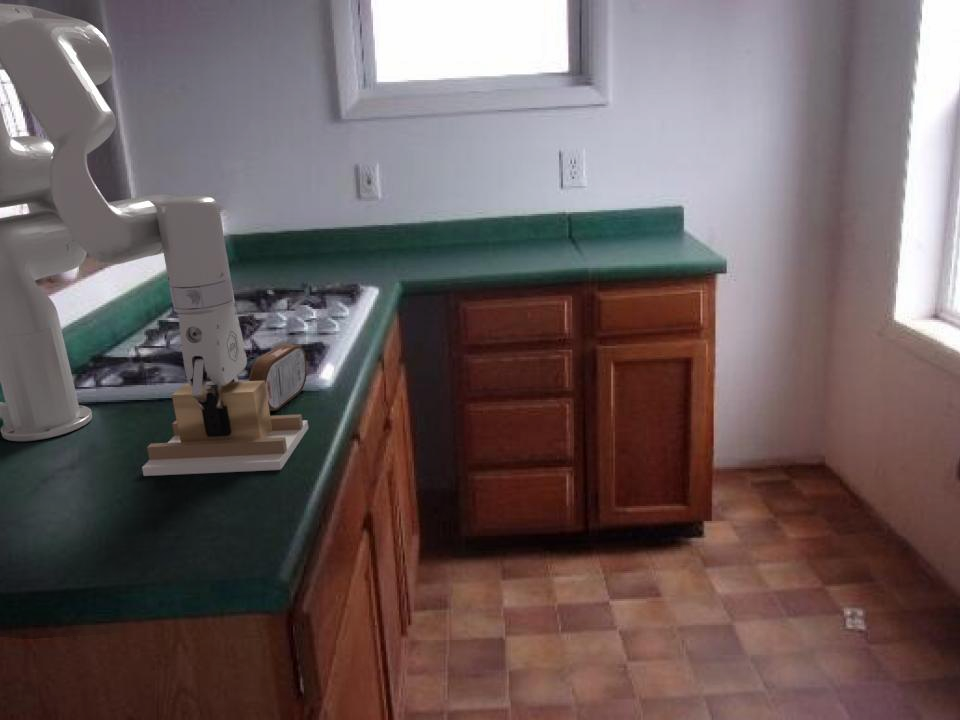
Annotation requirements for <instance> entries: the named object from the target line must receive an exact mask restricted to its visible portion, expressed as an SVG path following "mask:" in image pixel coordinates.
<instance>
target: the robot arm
mask: <svg viewBox="0 0 960 720" xmlns="http://www.w3.org/2000/svg"><path fill="white" fill-rule="evenodd" d="M113 69H114V54H113V51H112V48H111V46H110V44H109V42H108V40H107V38H106V37H105V35H104V34H103V33H102V32H101V31H100V30H99V29H98V28H97V27H96V26H94V24H91V23H89V22H88V21H85V20H82V19H79V18H75V17H72V16H68V15H64V14H60V13H56V12H53V11H49V10H45V9H42V8H38V7H35V6H29V5H21V4H12V3H11V4H10V3H0V71H4V72H5V73H6V74H7V76H8V78H9V79H10V80H11V81H10V82H11V83H12V84H13V85H14V87H15V88H16V91H17V92H18V94H19V95H20V96H21V99H22V100H23V101H24V103H25V104H26V106H27V107H28V109H29V111H30V112H31V113H32V115H33V116H34V118H35V120H36V121H37V123H38V124H39V126H40V128H41V129H42V131H43V132H44V134H45V135H46V137H47V138H48V139H46V138H43V137H41V136H36V135H22V136H21V135H20V136H10V134H9V132H8V130H7V125H6V123H5V120H4V115H3V111H2V108H1V107H0V209H2V208H3V209H4V208H9V207H14V206H15V207H16V206H20V205H27V208H28V210H29V211H28V212H29V213H25V214H24V213H23V214H15V215H10V216H4V217H0V385H1V388H2V393H3V398H4V401H5V402H3V401H0V419H1V420H3V424H2V425H1V427H0V433H1V437H2V438H3V439H5V440H7V441H11V442H12V441H13V442H33V441H40V440H45V439H51V438H54V437H59V436H63V435H65V434H68V433H72V432H73V431H75V430H78V429H80V428H82V427H83V426H86V425H87V424H88V423H89V422H91V420H92V419H93V412H92V409H91V408H90V407H88V406H85V405H79V400H78V396H77V392H76V387H75V383H74V378H73V373H72V370H71V366H70V361H69V358H68V353H67V352H68V351H67V347H66V343H65V339H64V334H63V331H62V326H61V321H60V317H59V314H58V310H57V307H56V305H55V303H54V302H53V301H52V299H51V298H50V297H49V295H47V294H46V292H44V291H43V289H42V288H41V287H40V286H39V285H38V284H37V283H36V281H38V280H41V279H44V278H47V277H51V276H56V275H58V274H62V273H67V272H69V271H72V270H74V269H77V268H79V267H80V266H81V265H82V264H83V263H84V261H85V260H86V258H87V254H88V255H89V257H91V259H94V260H95V261H96V262H99V263H102V264H106V265H110V266H113V265H120V264H121V265H122V264H125V263H128V262H132V261H136V260H140V259H144V258H148V257H154V256H158V255H161V254H163V258H164V262H165V269H166V274H167V279H168V285H169V291H170V295H171V300H172V301H171V302H172V305H173V311H174V312H175V313H176V314H177V313H178V325H179V335H180V336H179V337H180V345H181V352H182V359H183V365H184V366H183V367H184V370H185V376H186V380H187V384H189V385H190V386H191V387H193V388H192V396H193V398H195V399H196V400H198V402H199V405H200V409H201V410H202V414H203V420H204V425H205V431H206V435H207V436H208V437H217V436H229V435H230V434H231V427H230V422H229V416H228V410H227V406H223V405H224V403H223V391H222V386H226V385H228V384H229V383H230V382H240V381H239V378H238V376H239V374H241V372H243V370H244V369H245V368H246V366H247V364H248V358H247V354H246V348H245V344H244V343H245V342H244V338H243V334H242V330H241V325H240V321H239V317H238V313H237V310H236V306H235V303H236V301H235V296H234V290H233V289H234V288H233V283H232V277H231V272H230V265H229V259H228V258H229V257H228V252H227V247H226V246H227V245H226V242H225V235H224V229H223V224H222V223H223V221H222V218H221V217H222V216H221V210H220V206H219V203H218V202H217V201H216V200H215V199H214V198H213V197H211V196H206V195H193V196H182V197H179V196H173V195H170V194H169V195H168V194H150V195H144V196H141V197H139V196H136V197H131V198H126V199H122V200H115V201H107V200H106V198H105V197H104V196H103V194H102V193H101V191H100V190H99V188H98V187H97V185H96V183H95V181H94V179H93V178H92V175H91V173H90V171H89V166H88V154H90V153H91V152H93V151H94V150H96V149H97V148H98V147H100V146H101V145H102V144H104V143H105V141H106V140H108V139H109V137H111V135H112V133H114V131H115V129H116V126H117V124H116V123H117V120H116V115H115V114H114V112H113V110H112V109H111V108H110V106H109V104H108V103H107V102H106V100H105V98H104V97H103V95H102V93H101V92H100V90H99V88H98V87H97V86H98V85H102V84H104V83H105V82H106V81H107V80H108V79H109V78H110V77H111V75H112V73H113ZM207 381H211V383H214V384H206V383H207ZM209 389H215V396H216V397H215V396H214V395H213V393H209V392H208V391H207V390H209Z"/></svg>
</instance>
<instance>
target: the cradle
mask: <svg viewBox="0 0 960 720" xmlns="http://www.w3.org/2000/svg"><path fill="white" fill-rule="evenodd" d="M270 417H271V424H272V430H271V431H270V432H269V434H268V435H267V436H266V437H265V438H257V439H236V440H215V441H195V442H181V441H180V435H179V430H178V425H177V420H175V421H173V422H172V423H171V425H172V429H173V434H174V435H173V436H172V437H171V438H170V440H169V441H168V442H159V443H158V442H155V443H149V444H148V445H147V447H146V449H147V453H148V454H147V455H148V458H149V459H148V461H147V462H146V463H144V465H143V466H142V467H141V469H142V474H143V476H144V477H148V476H152V477H153V476H169V475H170V476H171V475H172V476H173V475H175V476H176V475H192V474H194V475H195V474H196V475H198V474H215V473H216V474H218V473H236V472H239V473H240V472H257V471H258V472H259V471H261V472H262V471H281V470H282V468H283V467H284V466H285V464H286V463H287V461H288V460H289V458H290V457H291V455H292V454H293V452H294V450H295V449H296V448H297V446H298V445H299V444H300V442H301V440H302V439H303V437H304V436H305V434H306V433H307V432H308V429H309V423H308V420H305V419H304V420H303V416H302V414H300V413H299V414H281V415H280V414H279V415H270Z"/></svg>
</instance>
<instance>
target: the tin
mask: <svg viewBox="0 0 960 720" xmlns="http://www.w3.org/2000/svg"><path fill="white" fill-rule="evenodd" d="M252 365H253V366H252V368H251V370H250V374H249V377H248V381H265V385H266V392H267V398H268V405H269V411H270V412H276V411H277V410H278V411H279V409H280V408H282V407H283V406H285V405H286V404H287V403H288V402H290V401H291V400H292V399H294V398H295V397H297V396H299V394H300V393H301V392H302V391H303V389H304V387H305V384H306V381H307V375H308V374H307V373H308V371H307V359H306V352H305V350H304V348H303V347H302V346H301V345H298V344H288V343H284V342H283V343H281V344H279V345H278V346H275V348H273V349H271V350H270V351H267V352H266V353H265V354H264V353H263V354H262V355H261V356H259V357H257V359H256V360H255V361H254V363H253V364H252Z"/></svg>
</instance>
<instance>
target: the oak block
mask: <svg viewBox="0 0 960 720" xmlns="http://www.w3.org/2000/svg"><path fill="white" fill-rule="evenodd" d="M206 384H214V383H213V382H206ZM192 388H193V387H191V386H190V385H189V383H185V384H184V385H183V386H182V387H180V388H179V389H177V390H176V391H175V392H174V393H172V394H171V398H172V404H173V409H174V413H175V419H176V420H175V421H177V425H178V430H179V435H180V441H181V442H195V441H215V440H236V439H257V438H265V437H266V436H267V435H268V434H269V432H270V431H271V430H272V424H271V417H270V416H271V414H270V413H271V411H269V405H268V398H267V392H266V385H265V381H249V380H246V381H245V380H244V381H243V380H241V381H239V382H230V383H229V384H228V385H226V386H222V391H223V403H224V405H223V406H227V410H228V416H229V422H230V427H231V434H230V435H229V436H217V437H208V436H207V435H206V431H205V425H204V420H203V414H202V410H201V409H200V405H199V402H198V400H196V399H195V398H193V396H192ZM207 391H208V392H209V393H213V395H214V396H215V389H209V390H207ZM215 397H216V396H215Z"/></svg>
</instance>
